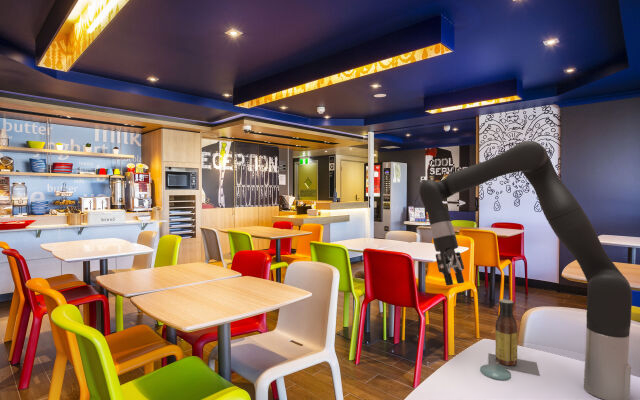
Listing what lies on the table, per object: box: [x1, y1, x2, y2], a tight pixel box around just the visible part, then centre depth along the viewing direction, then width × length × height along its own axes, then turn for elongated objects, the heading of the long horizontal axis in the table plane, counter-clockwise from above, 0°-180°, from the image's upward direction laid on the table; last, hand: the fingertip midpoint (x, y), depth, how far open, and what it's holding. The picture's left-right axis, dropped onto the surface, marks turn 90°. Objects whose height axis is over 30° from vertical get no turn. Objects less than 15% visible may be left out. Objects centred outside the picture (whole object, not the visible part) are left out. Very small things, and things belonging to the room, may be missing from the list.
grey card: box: [487, 353, 541, 377], centre depth 115 cm, size 14×9×1 cm, turn 65°
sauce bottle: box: [495, 298, 518, 366], centre depth 116 cm, size 7×6×20 cm
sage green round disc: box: [479, 364, 512, 381], centre depth 109 cm, size 8×8×1 cm
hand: (455, 284), depth 120 cm, fingers open, 8 cm apart
